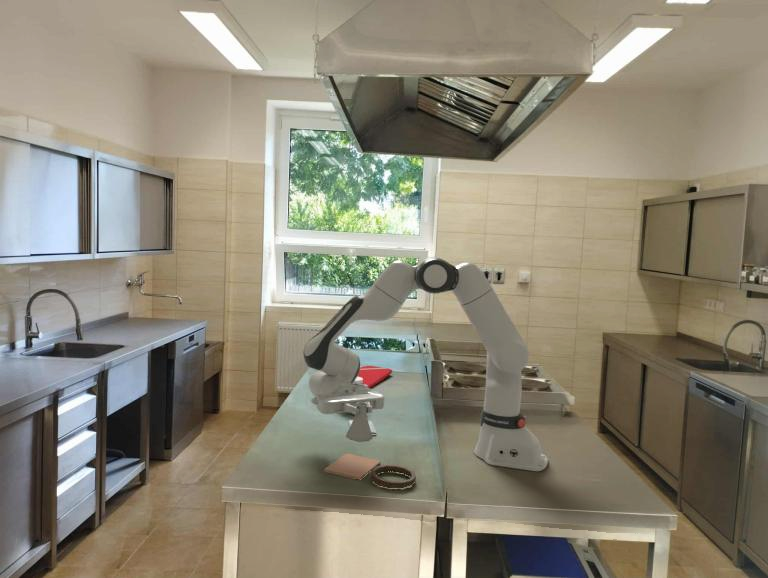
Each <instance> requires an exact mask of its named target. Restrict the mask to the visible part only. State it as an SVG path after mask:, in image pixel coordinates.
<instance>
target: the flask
mask: <svg viewBox="0 0 768 578" xmlns="http://www.w3.org/2000/svg"><path fill="white" fill-rule="evenodd" d="M356 405H357V407H359V409H360V410H359V414H354V417H353V419H352V420H353V422H352V424H351V426H350V427H348V428H349V429H348V430H347V432H346V434H345V437H346V438H347V439H349V440H350V441H353V442H358V443H363V442H364V443H365V442H369V441H372V439H373V436H372V434H371V430H370V427H369V423H368V421H369V419H368V413H367V406H368V404H367V403H365V402H358V403H356Z"/></svg>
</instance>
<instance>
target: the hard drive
mask: <svg viewBox="0 0 768 578" xmlns="http://www.w3.org/2000/svg"><path fill="white" fill-rule="evenodd" d="M353 420H354V419H349V420H347V421H348V422H349V423H348V422H347V423H348V426H351V424H352V422H353ZM368 423H369V427H370V430H371V434H376V435H377V431H376V428H375V426H374V423H373V421H372V420H368Z"/></svg>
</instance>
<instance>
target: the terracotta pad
mask: <svg viewBox="0 0 768 578" xmlns="http://www.w3.org/2000/svg"><path fill="white" fill-rule="evenodd" d="M379 463H380V464H381V460H376V459H374V458H369V457H364V456H359V455H356V454H351V453H345V454H343V455H342V456H341V457H339V458H338V459H337V460H335V461H333V462H332V463H331V464H329V465H328V466H326V467H325V468H324V469H323V472H324V473H328V474H331V473H332V475H335V474H337V475H336V476H339V475H341V476H340V477H343V476H346V477H345V478H347V477H350V478H349V479H351V478H355V479H359V480H360V479H362V478H363V477H364V476H365V475H366V474H367V473H369V472H370V471H371V470H372V469H373V468H375V467H376V466H377V465H378V464H379ZM380 464H379V465H380ZM379 465H378V466H379ZM370 473H371V472H370ZM370 473H369V474H370ZM366 476H367V475H366ZM366 476H365V477H366ZM365 477H364V478H365ZM364 478H363V479H364ZM355 479H354V480H355ZM363 479H362V480H363ZM359 480H358V481H359ZM360 481H361V480H360Z"/></svg>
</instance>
